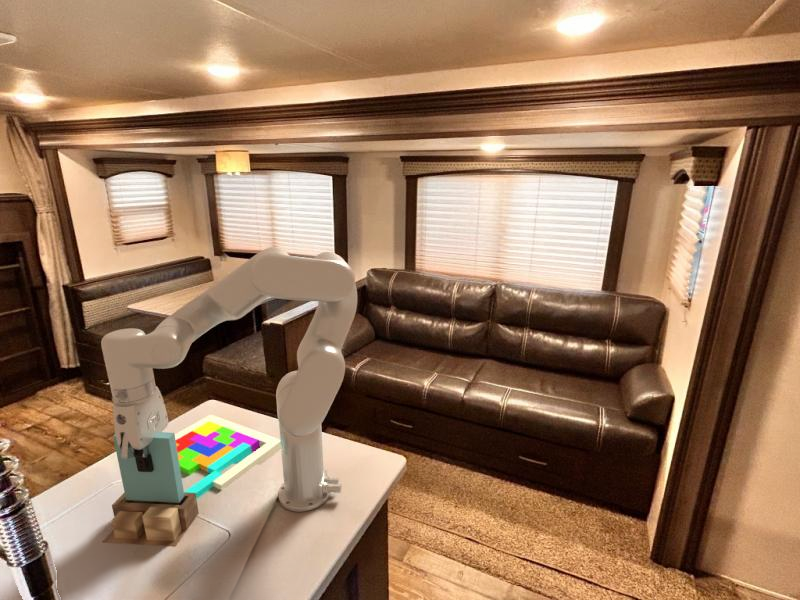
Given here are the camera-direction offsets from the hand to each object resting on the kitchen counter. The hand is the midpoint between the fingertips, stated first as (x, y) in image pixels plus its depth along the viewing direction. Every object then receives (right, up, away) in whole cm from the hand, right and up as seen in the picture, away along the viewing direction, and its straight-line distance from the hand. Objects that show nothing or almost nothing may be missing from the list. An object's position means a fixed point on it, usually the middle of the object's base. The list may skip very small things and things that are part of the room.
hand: (149, 466), depth 89 cm
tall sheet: (0, -8, +2) cm, 8 cm away
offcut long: (+3, -14, -1) cm, 15 cm away
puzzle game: (0, -9, +25) cm, 26 cm away
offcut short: (-4, -14, 0) cm, 15 cm away
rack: (0, -15, +2) cm, 15 cm away
